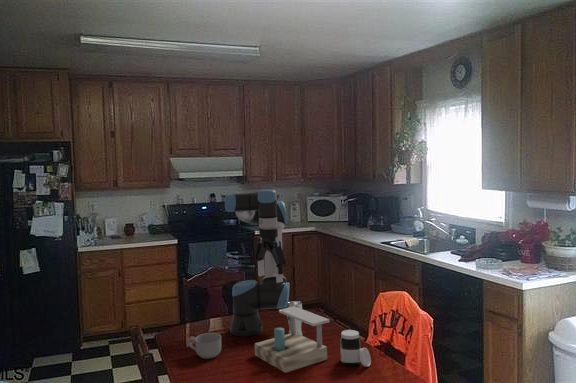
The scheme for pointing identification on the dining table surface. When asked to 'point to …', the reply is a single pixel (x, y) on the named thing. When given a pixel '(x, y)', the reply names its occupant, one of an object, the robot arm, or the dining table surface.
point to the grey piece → (305, 320)
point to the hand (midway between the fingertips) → (270, 278)
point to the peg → (279, 339)
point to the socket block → (291, 352)
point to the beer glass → (297, 322)
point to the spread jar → (353, 349)
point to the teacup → (206, 345)
